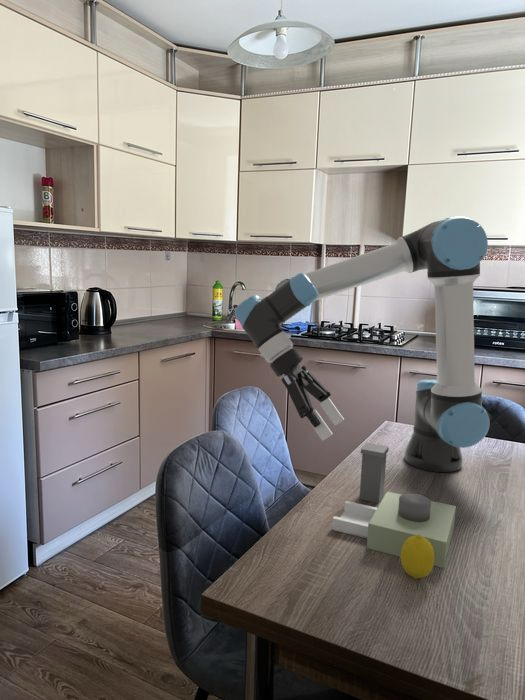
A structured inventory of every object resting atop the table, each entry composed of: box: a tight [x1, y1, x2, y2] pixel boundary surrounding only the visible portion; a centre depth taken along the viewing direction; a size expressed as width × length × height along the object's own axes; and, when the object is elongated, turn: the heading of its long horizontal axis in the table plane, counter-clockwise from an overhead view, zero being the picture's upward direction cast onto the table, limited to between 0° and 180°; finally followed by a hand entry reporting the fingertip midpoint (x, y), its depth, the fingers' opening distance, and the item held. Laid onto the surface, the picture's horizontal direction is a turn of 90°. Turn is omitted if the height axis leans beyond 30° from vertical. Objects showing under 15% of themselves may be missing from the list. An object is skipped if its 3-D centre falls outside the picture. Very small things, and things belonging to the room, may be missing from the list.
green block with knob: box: [331, 491, 457, 569], centre depth 104 cm, size 22×16×8 cm
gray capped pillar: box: [359, 442, 390, 504], centre depth 120 cm, size 5×5×12 cm
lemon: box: [400, 535, 435, 580], centre depth 89 cm, size 6×6×8 cm
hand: (334, 429), depth 121 cm, fingers open, 13 cm apart
